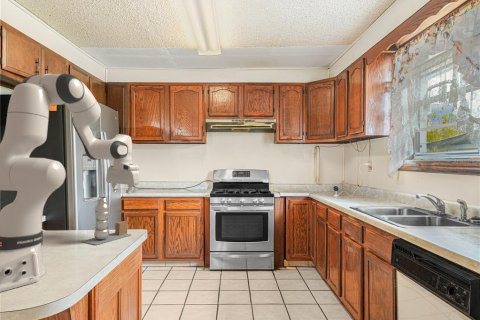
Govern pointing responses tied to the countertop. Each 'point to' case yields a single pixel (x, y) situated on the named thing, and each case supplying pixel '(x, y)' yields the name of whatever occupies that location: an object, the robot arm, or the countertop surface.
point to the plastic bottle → (102, 219)
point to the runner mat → (119, 233)
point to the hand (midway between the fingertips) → (121, 192)
